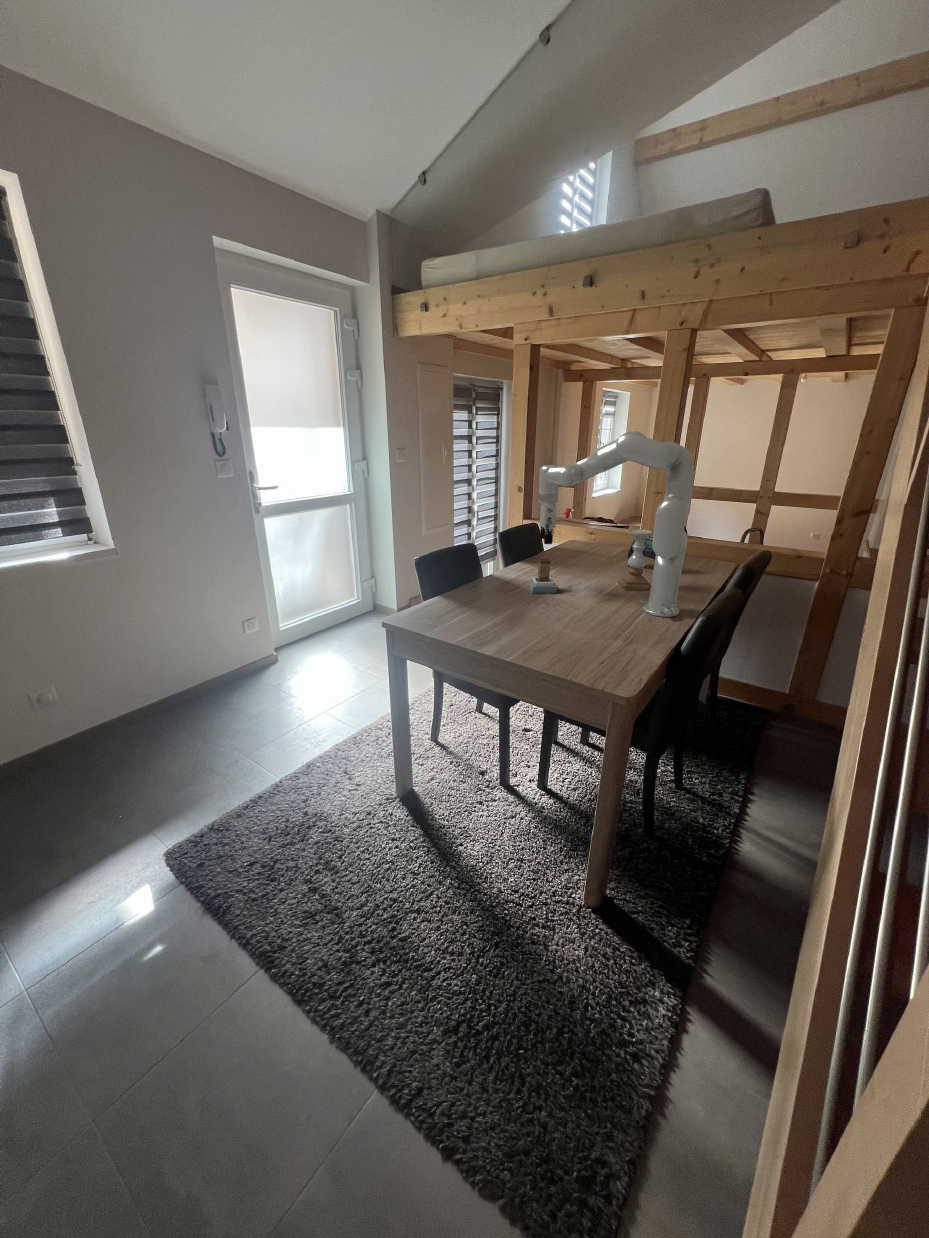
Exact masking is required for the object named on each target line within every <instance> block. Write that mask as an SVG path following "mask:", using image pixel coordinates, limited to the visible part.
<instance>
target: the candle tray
mask: <svg viewBox="0 0 929 1238" xmlns="http://www.w3.org/2000/svg"><path fill="white" fill-rule="evenodd" d="M528 587H529V590H530V592H531V594H532V595H547V594H546V593H558V586H557V585H556V583H555V581H554V580H553V578H552V577H551V576H549V582H538V576H532V579H529V580H528Z"/></svg>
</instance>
